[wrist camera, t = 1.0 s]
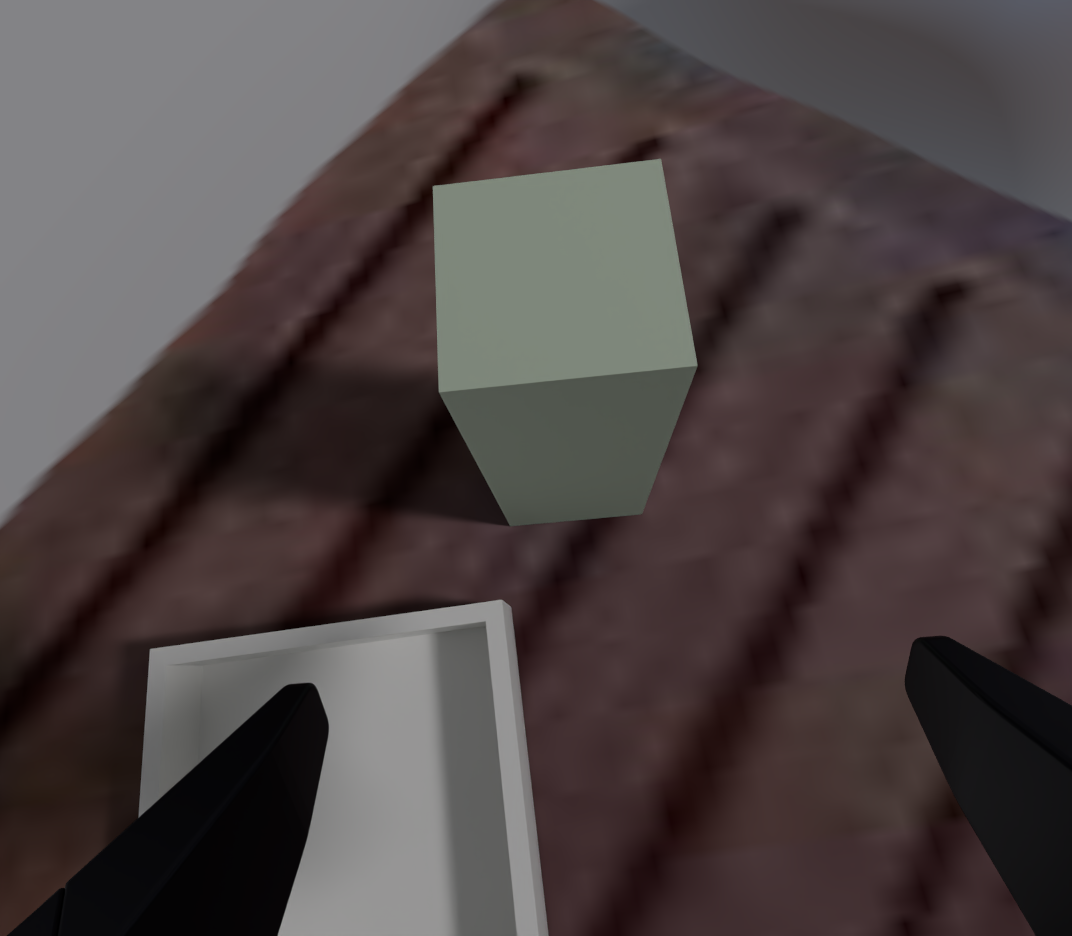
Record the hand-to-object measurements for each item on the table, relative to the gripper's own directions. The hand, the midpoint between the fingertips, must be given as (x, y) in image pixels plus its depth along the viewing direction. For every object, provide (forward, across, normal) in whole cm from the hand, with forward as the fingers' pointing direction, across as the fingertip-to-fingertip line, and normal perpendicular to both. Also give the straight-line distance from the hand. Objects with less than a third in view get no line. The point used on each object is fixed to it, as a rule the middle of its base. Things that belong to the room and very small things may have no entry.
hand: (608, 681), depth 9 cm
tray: (+7, +8, +12) cm, 16 cm away
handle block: (+15, 0, +3) cm, 15 cm away
